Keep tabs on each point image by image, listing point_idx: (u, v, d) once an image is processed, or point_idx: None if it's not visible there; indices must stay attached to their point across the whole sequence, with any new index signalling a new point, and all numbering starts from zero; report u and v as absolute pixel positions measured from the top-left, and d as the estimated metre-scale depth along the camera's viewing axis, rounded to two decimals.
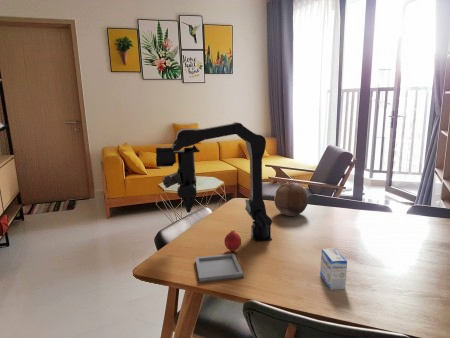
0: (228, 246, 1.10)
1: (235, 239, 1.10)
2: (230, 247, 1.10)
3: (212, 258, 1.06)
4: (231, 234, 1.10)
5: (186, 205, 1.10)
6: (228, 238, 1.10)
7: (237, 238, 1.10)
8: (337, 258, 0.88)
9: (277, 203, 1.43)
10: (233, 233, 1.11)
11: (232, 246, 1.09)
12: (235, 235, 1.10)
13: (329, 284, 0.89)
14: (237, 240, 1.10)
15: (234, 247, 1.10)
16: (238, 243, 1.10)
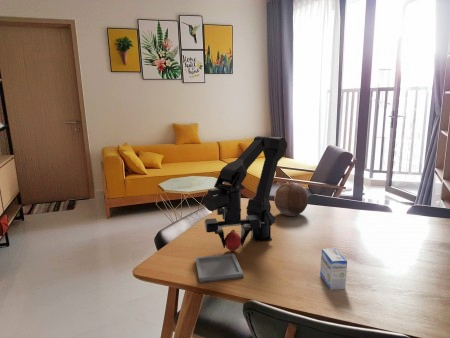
0: (228, 246, 1.10)
1: (235, 239, 1.10)
2: (230, 247, 1.10)
3: (212, 258, 1.06)
4: (231, 234, 1.10)
5: None
6: (228, 238, 1.10)
7: (237, 238, 1.10)
8: (337, 258, 0.88)
9: (277, 203, 1.43)
10: (233, 233, 1.11)
11: (232, 246, 1.09)
12: (235, 235, 1.10)
13: (329, 284, 0.89)
14: (237, 240, 1.10)
15: (234, 247, 1.10)
16: (238, 243, 1.10)
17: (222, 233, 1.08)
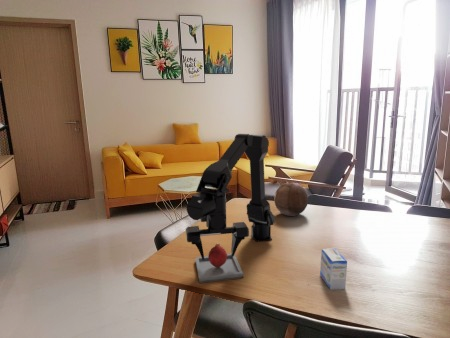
0: (212, 262, 0.98)
1: (220, 255, 0.98)
2: (214, 263, 0.98)
3: None
4: (215, 249, 0.98)
5: None
6: (212, 253, 0.98)
7: (222, 253, 0.98)
8: (337, 258, 0.88)
9: (277, 203, 1.43)
10: (218, 247, 0.99)
11: (216, 262, 0.97)
12: (220, 250, 0.98)
13: (329, 284, 0.89)
14: (222, 255, 0.98)
15: (219, 263, 0.98)
16: (223, 259, 0.98)
17: (200, 243, 0.95)
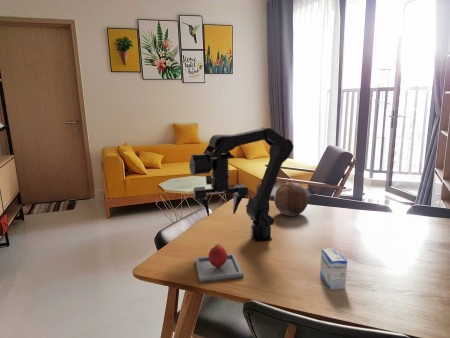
0: (212, 262, 0.98)
1: (220, 255, 0.98)
2: (214, 263, 0.98)
3: None
4: (216, 249, 0.98)
5: None
6: (212, 253, 0.98)
7: (222, 253, 0.98)
8: (337, 258, 0.88)
9: (277, 203, 1.43)
10: (218, 247, 0.99)
11: (217, 262, 0.97)
12: (220, 250, 0.98)
13: (329, 284, 0.89)
14: (222, 255, 0.98)
15: (219, 263, 0.98)
16: (223, 259, 0.98)
17: (206, 200, 1.10)
